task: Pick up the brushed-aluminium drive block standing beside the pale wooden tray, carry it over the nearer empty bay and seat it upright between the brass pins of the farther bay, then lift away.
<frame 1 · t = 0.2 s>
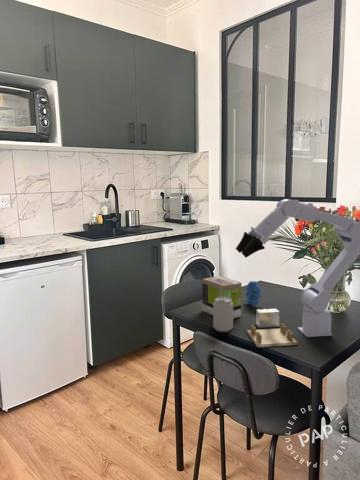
hand: (240, 253, 125), 31 cm above the table, tool tilted 45°, fingers open, 7 cm apart
tray: (271, 338, 127), on the table
drive: (267, 325, 139), on the table
tea box: (221, 314, 153), on the table
can: (223, 329, 136), on the table
grapes: (254, 306, 161), on the table
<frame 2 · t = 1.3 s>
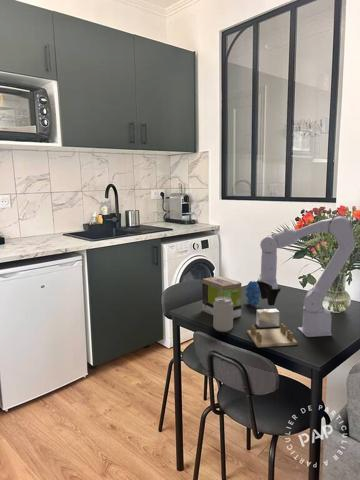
hand: (267, 301, 138), 10 cm above the table, tool pointing down, fingers open, 7 cm apart
nothing on the table moved.
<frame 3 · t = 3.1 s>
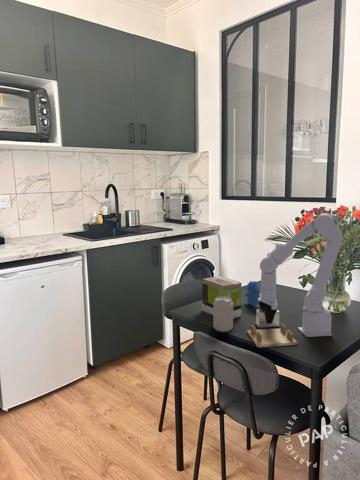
hand: (267, 321, 139), 2 cm above the table, tool pointing down, fingers closed on drive, 3 cm apart
drive: (267, 325, 139), on the table, touching gripper
everything else where it was.
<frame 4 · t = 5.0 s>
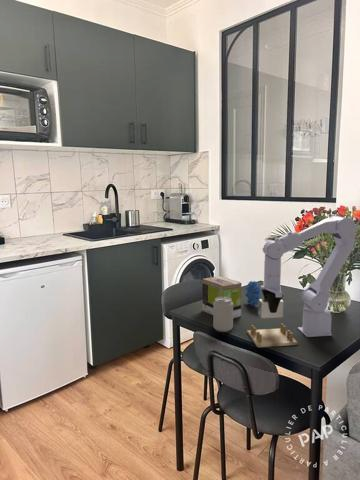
hand: (271, 310, 130), 9 cm above the table, tool pointing down, fingers closed on drive, 3 cm apart
drive: (270, 315, 131), point 7 cm above the table, touching gripper
everything else where it was.
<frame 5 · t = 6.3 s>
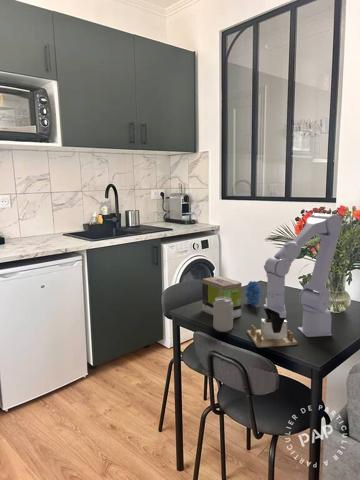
hand: (274, 330, 124), 4 cm above the table, tool pointing down, fingers closed on drive, 3 cm apart
drive: (273, 336, 124), point 2 cm above the table, touching gripper
everything else where it was.
when the fingers open (4 cm above the table, at t = 7.1 s): drive stays where it is, resting on tray.
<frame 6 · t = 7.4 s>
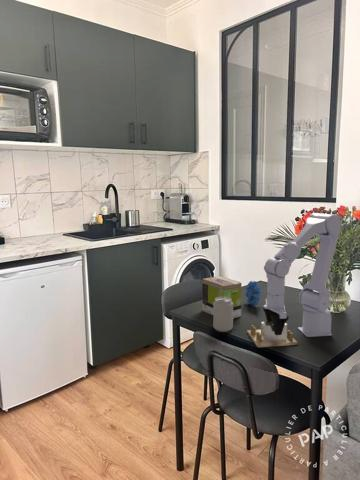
hand: (274, 330, 124), 4 cm above the table, tool pointing down, fingers open, 6 cm apart
drive: (273, 339, 124), point 1 cm above the table, touching tray
everything else where it was.
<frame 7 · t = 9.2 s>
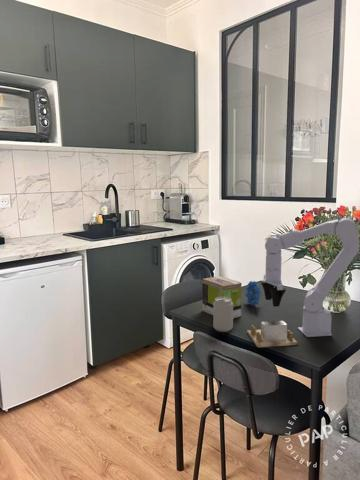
hand: (272, 302, 137), 9 cm above the table, tool pointing down, fingers open, 7 cm apart
nothing on the table moved.
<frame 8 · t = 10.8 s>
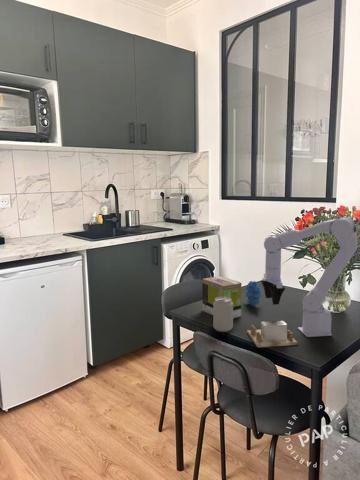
hand: (272, 300, 139), 9 cm above the table, tool pointing down, fingers open, 7 cm apart
nothing on the table moved.
at the end: drive 0.3 cm from the target spot on the tray, point 1.0 cm above the tray's base; drive tilted 0°; the gripper is holding nothing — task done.
